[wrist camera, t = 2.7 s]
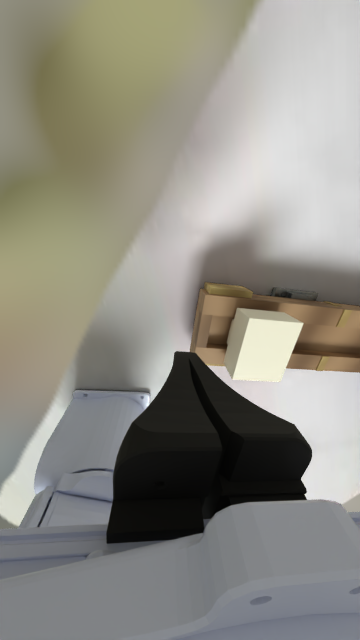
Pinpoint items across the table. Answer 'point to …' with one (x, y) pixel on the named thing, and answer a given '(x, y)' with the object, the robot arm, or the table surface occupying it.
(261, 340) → the plate
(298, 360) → the beam
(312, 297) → the clear grey flat box
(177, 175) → the table surface
